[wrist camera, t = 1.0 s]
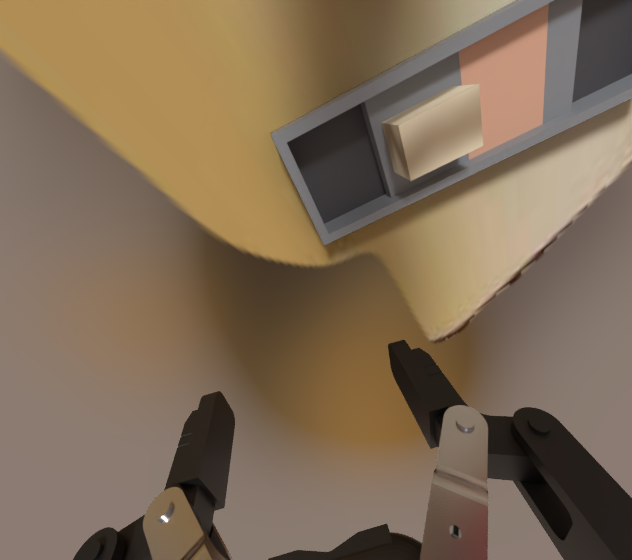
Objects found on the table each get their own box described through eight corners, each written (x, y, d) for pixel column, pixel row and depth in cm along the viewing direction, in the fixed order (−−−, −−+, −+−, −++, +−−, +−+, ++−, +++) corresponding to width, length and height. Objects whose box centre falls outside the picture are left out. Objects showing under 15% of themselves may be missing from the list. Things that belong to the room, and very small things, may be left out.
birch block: (381, 122, 26) (398, 125, 23) (451, 86, 25) (479, 83, 22) (394, 172, 29) (410, 181, 25) (457, 140, 28) (483, 145, 25)
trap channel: (270, 132, 27) (271, 136, 24) (671, -84, 23) (730, -111, 20) (319, 233, 33) (324, 245, 30) (636, 79, 29) (676, 76, 26)
